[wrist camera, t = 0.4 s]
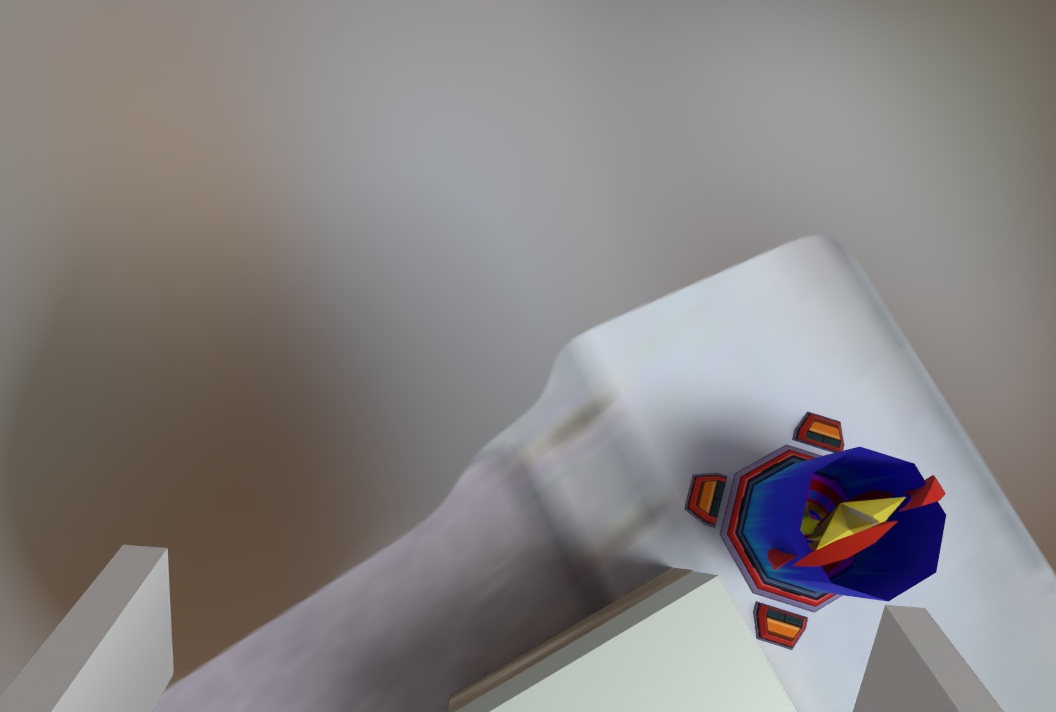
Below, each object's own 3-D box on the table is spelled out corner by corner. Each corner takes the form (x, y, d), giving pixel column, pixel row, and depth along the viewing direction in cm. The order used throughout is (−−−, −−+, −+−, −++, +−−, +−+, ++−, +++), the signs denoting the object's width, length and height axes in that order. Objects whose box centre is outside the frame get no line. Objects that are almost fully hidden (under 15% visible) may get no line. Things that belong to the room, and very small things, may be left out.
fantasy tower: (827, 399, 52) (929, 357, 40) (929, 567, 50) (1067, 573, 38) (670, 485, 50) (729, 468, 38) (769, 664, 48) (864, 702, 36)
